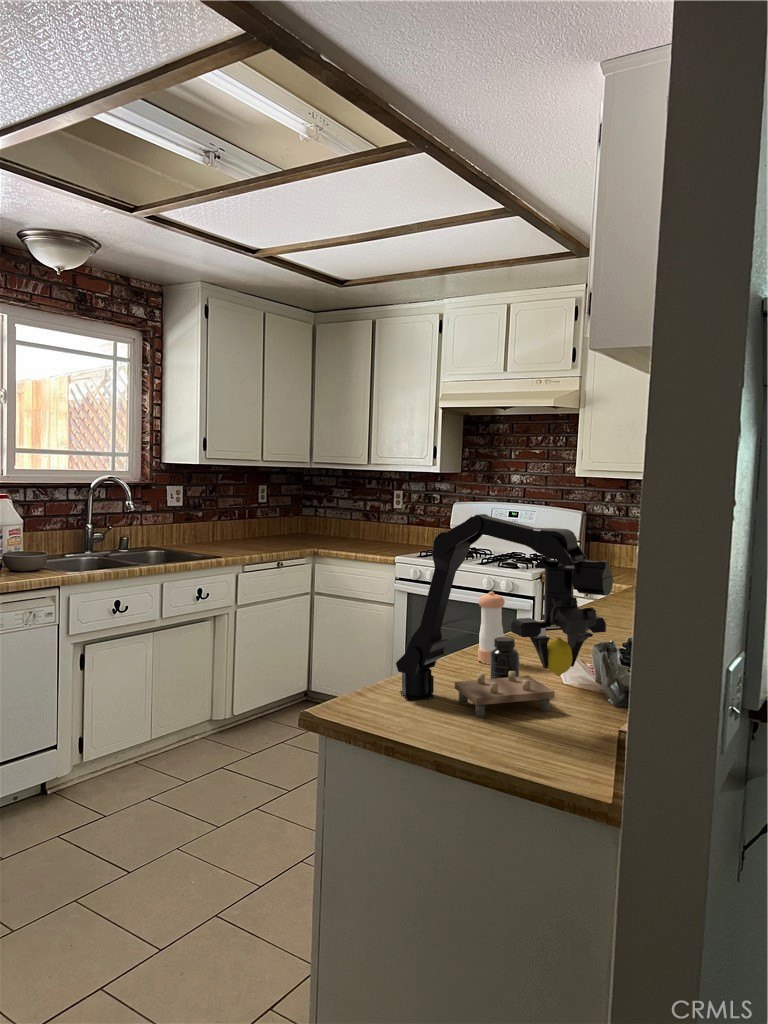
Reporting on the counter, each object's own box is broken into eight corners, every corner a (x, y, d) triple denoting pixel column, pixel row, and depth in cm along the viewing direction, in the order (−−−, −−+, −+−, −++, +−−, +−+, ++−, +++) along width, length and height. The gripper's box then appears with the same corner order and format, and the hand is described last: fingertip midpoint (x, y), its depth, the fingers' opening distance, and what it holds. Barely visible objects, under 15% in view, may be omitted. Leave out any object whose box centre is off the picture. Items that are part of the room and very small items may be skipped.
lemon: (552, 671, 161) (552, 633, 160) (577, 675, 157) (577, 636, 157) (539, 676, 156) (539, 638, 156) (564, 681, 153) (564, 641, 153)
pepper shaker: (504, 658, 213) (504, 589, 212) (505, 665, 205) (505, 594, 204) (477, 658, 213) (477, 589, 212) (478, 664, 206) (478, 593, 205)
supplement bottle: (497, 683, 188) (497, 634, 188) (523, 687, 185) (523, 637, 184) (485, 690, 182) (485, 640, 182) (513, 694, 179) (513, 643, 178)
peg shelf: (476, 719, 161) (476, 688, 161) (454, 701, 173) (454, 673, 173) (554, 711, 165) (554, 682, 165) (528, 694, 178) (528, 667, 178)
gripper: (534, 600, 146) (533, 681, 147) (621, 595, 151) (620, 674, 151) (510, 591, 157) (509, 666, 157) (592, 587, 161) (591, 660, 162)
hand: (558, 667), depth 157 cm, fingers closed on lemon, 5 cm apart
